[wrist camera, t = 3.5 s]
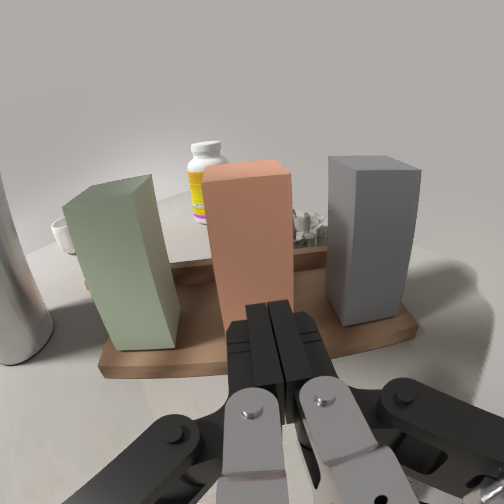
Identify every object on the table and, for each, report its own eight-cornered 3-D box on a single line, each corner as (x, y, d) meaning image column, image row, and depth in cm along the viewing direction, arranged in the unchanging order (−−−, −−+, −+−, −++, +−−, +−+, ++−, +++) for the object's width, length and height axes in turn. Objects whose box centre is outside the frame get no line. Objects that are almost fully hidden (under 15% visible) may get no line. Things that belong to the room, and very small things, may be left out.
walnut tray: (104, 377, 20) (87, 348, 19) (133, 295, 31) (124, 268, 29) (414, 338, 22) (424, 306, 20) (362, 268, 32) (365, 240, 31)
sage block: (116, 350, 21) (62, 207, 15) (129, 312, 25) (91, 185, 20) (174, 347, 21) (132, 193, 16) (180, 308, 26) (151, 174, 20)
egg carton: (281, 227, 45) (280, 201, 43) (328, 233, 42) (329, 206, 40) (247, 258, 37) (245, 227, 35) (305, 269, 34) (306, 236, 32)
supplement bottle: (232, 224, 47) (223, 143, 41) (191, 227, 47) (179, 148, 41) (235, 210, 53) (228, 138, 47) (199, 212, 53) (189, 142, 47)
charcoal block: (342, 326, 22) (356, 170, 16) (324, 290, 26) (328, 156, 21) (397, 315, 22) (421, 170, 17) (373, 283, 27) (385, 155, 21)
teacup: (57, 249, 45) (48, 222, 42) (93, 234, 49) (86, 207, 47) (65, 268, 38) (54, 236, 35) (108, 249, 42) (99, 217, 40)
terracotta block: (226, 343, 21) (200, 182, 16) (225, 303, 26) (205, 166, 20) (293, 335, 22) (291, 173, 16) (281, 296, 26) (275, 159, 21)
